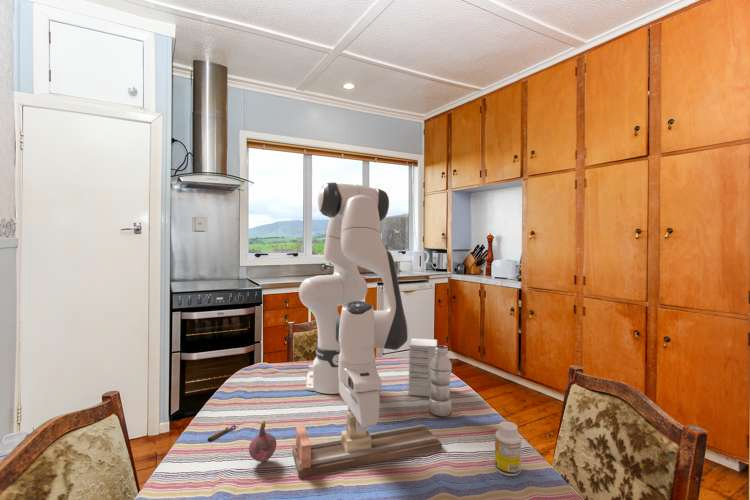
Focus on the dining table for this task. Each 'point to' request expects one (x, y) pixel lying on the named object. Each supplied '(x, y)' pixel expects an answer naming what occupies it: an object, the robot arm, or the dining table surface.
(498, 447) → the supplement bottle
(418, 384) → the supplement box
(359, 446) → the block
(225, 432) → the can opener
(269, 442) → the vegetable
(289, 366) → the dining table surface
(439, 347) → the plastic bottle
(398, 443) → the rail board
